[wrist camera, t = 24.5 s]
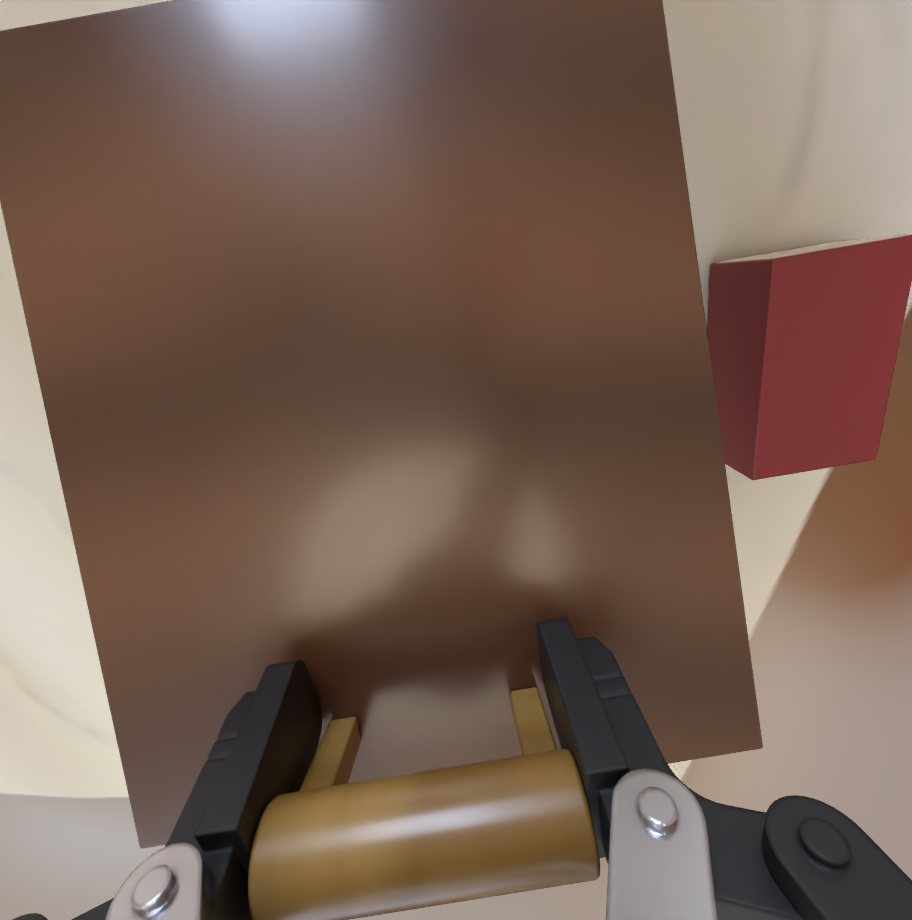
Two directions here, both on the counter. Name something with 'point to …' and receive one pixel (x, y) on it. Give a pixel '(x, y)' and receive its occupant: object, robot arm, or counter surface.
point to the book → (806, 352)
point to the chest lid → (378, 410)
